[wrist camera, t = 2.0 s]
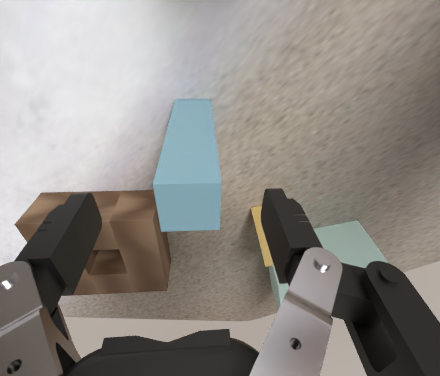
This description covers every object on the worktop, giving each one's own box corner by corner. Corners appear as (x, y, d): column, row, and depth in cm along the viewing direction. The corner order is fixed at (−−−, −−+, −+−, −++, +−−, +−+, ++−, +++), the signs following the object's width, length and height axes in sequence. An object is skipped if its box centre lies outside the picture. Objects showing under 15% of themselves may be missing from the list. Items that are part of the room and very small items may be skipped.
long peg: (210, 99, 20) (221, 183, 11) (211, 132, 22) (219, 229, 12) (175, 99, 20) (152, 184, 10) (178, 132, 22) (161, 231, 12)
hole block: (159, 190, 26) (152, 220, 22) (170, 259, 33) (167, 290, 29) (41, 192, 25) (14, 224, 21) (79, 263, 32) (64, 295, 28)
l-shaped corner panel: (270, 282, 39) (283, 332, 33) (263, 234, 32) (278, 287, 26) (344, 269, 38) (371, 318, 32) (355, 217, 31) (392, 267, 25)
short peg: (276, 202, 28) (292, 242, 23) (278, 219, 30) (293, 261, 25) (250, 207, 28) (261, 249, 23) (254, 225, 30) (265, 266, 25)
